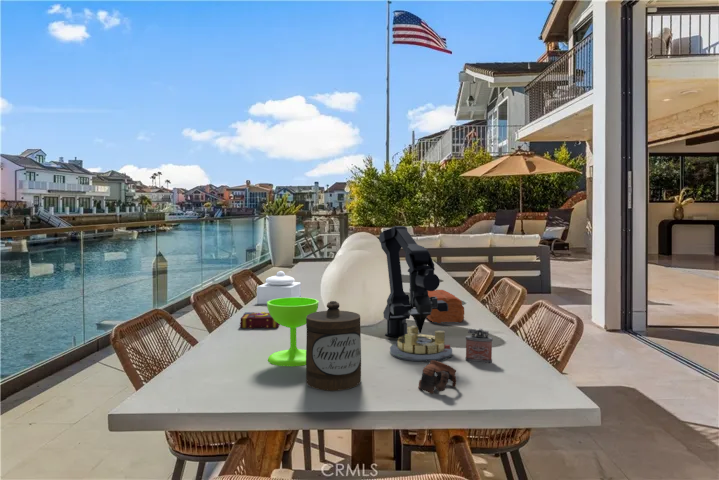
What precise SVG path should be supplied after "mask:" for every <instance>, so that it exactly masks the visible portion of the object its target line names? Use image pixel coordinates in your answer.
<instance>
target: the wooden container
mask: <svg viewBox="0 0 719 480" xmlns="http://www.w3.org/2000/svg"><path fill="white" fill-rule="evenodd" d="M326 308H327V310H320V311H317V312H314V313H311V314H309V315H307V317H306V324H305V325H306V348H305V350H306V365H305V371H306V372H305V374H306V375H305V380H306V381H305V382H306V384H307V385H308V386H309V387H310V388H313V389H316V390H321V391H328V392H329V391H330V392H333V391H334V392H335V391H345V390H350V389H352V388H355V387H357V386H358V385H360V383H361V382H362V343H361V341H362V340H361V339H362V338H361V334H362V333H361V315H360V314H359V313H358V312H355V311H349V310H348V311H347V310H340V309H339V308H340V303H339V302H338V301H336V300H330V301H329V302H328V303H327V304H326Z"/></svg>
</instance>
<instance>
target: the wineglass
mask: <svg viewBox="0 0 719 480" xmlns="http://www.w3.org/2000/svg"><path fill="white" fill-rule="evenodd" d="M319 301H320V300H318V299H316V298H311V297H301V298H300V297H291V298H279V299H273V300H270V301H268V302H267V304H266V306H267V311H268V313H270V315H271V317H272V318H273V319H274V320H275V321H276V322H277V323H279V324H280V325H279V326H282V327H285V328H288V329H289V335H290V336H289V341H290V342H289V344H290V346H289V349H282V350H279V351H275V352H273V353H271V354H270V355H269V356H268V357H267V362H268V363H269V364H271V365H274V366H277V367H278V366H279V367H289V368H290V367H302V366H306V349H301V348H298V347H297V328H300V327H303V326H305V325H306V317H307V315H309V314H311V313H314V312H318V309H319V303H320V302H319Z"/></svg>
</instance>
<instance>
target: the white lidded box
mask: <svg viewBox="0 0 719 480" xmlns="http://www.w3.org/2000/svg"><path fill="white" fill-rule="evenodd" d="M301 285H302V282H299V281H298V282H297V281H296V279H295V278H294V277H293V276H290V275H286V273H285V272H284V271H283V270H279V271H277V272H276V274H275V275H272V276H269V277H266V279H265V283H263V284H261V285H258V286H257V288H256V304H257V305H267V302H268V301H270V300H273V299H279V298H291V297H300V298H302V297H301V295H302V290H301V289H302V287H301Z"/></svg>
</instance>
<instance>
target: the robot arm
mask: <svg viewBox="0 0 719 480" xmlns="http://www.w3.org/2000/svg"><path fill="white" fill-rule="evenodd" d="M378 237H379V238H378V239H379V242H380V247H381V249H382V251H383V253H385V255H386V261H387V262H386V263H387V264H386V265H387V271H388V280H389V289H390V293H389V295H388V297H387V299H386V306H385V308H384V310H383V314H382V315H383V318H384V319H385V320H386V332H385V333H384V336H387V337H395V338H399V337H401V336H404V335H405V334H407V326H408V323H407V320H410V317H412V319H413V320H414V323H415V326H416V327H418V334H422V330H423V328H424V324H425V322H426V319H427V316H428V315H431V313H430V312H432V309H437V310H438V311H440V312H443V311H448V304H447V303H446V302H444V301H443V300H439V301H437V297H436V296H435V297H429V296H428V291H434V290H438V288H439V286H440V278H439V276H438V275H437V274H435V263H434V261H433V259H432V256H431V254H430V252H429V250H428V249H427V248H426V247H424V246H423V245H420V244H418V243H417V242H416V241H415V239H414V238H413V237H412V235H411V234H410V232H409V231H408V228H407V227H406V226H404V225H398V226H397V225H395V226H392V227H391V228H387V229H385V230H383V231H382V232H381V233H380V234H379V235H378ZM401 250H403V251H404V253H405V257H404V259H405V262H406V264H407V265H408V269H407V272H408V275H409V294H407V293H406V292H405V291H404V287H403V285H404V284H403V276H402V275H403V274H402V267H401V260H400V259H401V258H400V257H401V256H400V251H401ZM427 290H428V291H427Z"/></svg>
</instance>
